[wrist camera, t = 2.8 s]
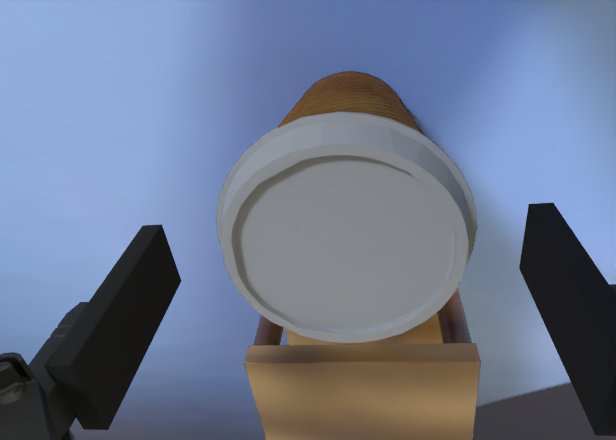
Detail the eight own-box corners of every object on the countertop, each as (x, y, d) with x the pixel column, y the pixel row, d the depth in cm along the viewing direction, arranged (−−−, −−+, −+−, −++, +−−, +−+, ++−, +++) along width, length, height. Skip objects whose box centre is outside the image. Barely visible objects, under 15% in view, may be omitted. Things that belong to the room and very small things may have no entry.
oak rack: (273, 249, 32) (243, 363, 24) (449, 242, 30) (481, 361, 22) (296, 364, 38) (279, 485, 30) (443, 363, 36) (467, 491, 28)
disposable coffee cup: (235, 139, 27) (161, 268, 17) (335, -3, 23) (314, 61, 13) (360, 226, 30) (359, 383, 20) (474, 114, 25) (547, 245, 15)
